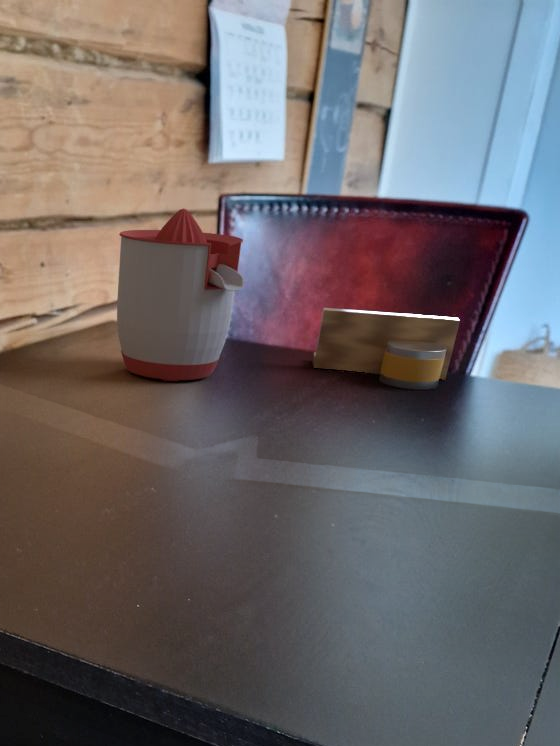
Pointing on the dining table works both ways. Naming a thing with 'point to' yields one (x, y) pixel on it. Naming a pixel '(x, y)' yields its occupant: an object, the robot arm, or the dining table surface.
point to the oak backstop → (376, 337)
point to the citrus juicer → (176, 298)
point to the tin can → (412, 364)
